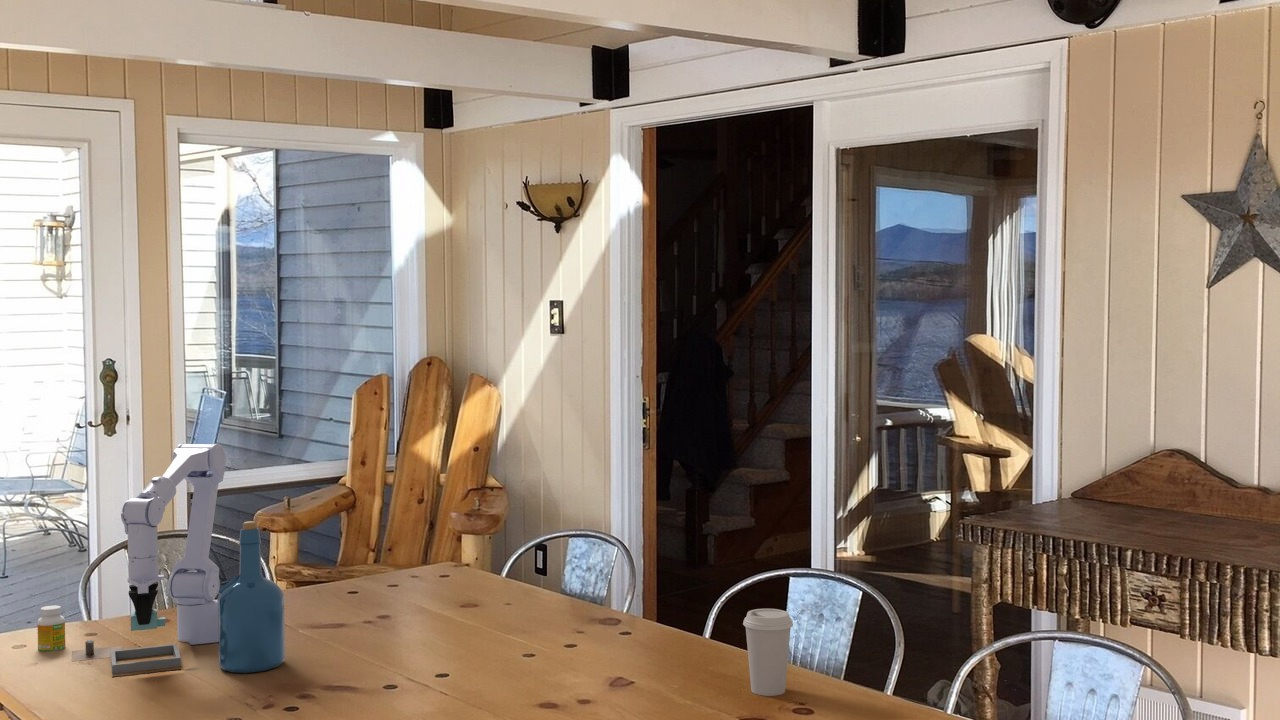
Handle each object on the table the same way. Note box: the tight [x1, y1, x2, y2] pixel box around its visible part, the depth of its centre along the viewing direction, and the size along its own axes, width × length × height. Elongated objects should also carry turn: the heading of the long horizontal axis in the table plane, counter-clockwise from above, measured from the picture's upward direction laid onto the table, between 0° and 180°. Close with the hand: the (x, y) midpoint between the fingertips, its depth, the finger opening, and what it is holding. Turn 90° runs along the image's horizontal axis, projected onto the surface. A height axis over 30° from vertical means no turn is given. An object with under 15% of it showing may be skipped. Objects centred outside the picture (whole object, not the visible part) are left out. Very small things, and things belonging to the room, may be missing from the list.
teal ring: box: [130, 608, 166, 632], centre depth 258 cm, size 5×7×3 cm
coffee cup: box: [742, 608, 794, 697], centre depth 238 cm, size 10×10×15 cm
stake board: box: [71, 639, 124, 663], centre depth 265 cm, size 10×9×4 cm
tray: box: [110, 643, 182, 678], centre depth 258 cm, size 13×12×2 cm
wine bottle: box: [217, 520, 286, 674], centre depth 257 cm, size 14×13×30 cm
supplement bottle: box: [36, 605, 66, 653], centre depth 269 cm, size 5×5×10 cm
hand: (144, 621), depth 257 cm, fingers closed on teal ring, 5 cm apart
